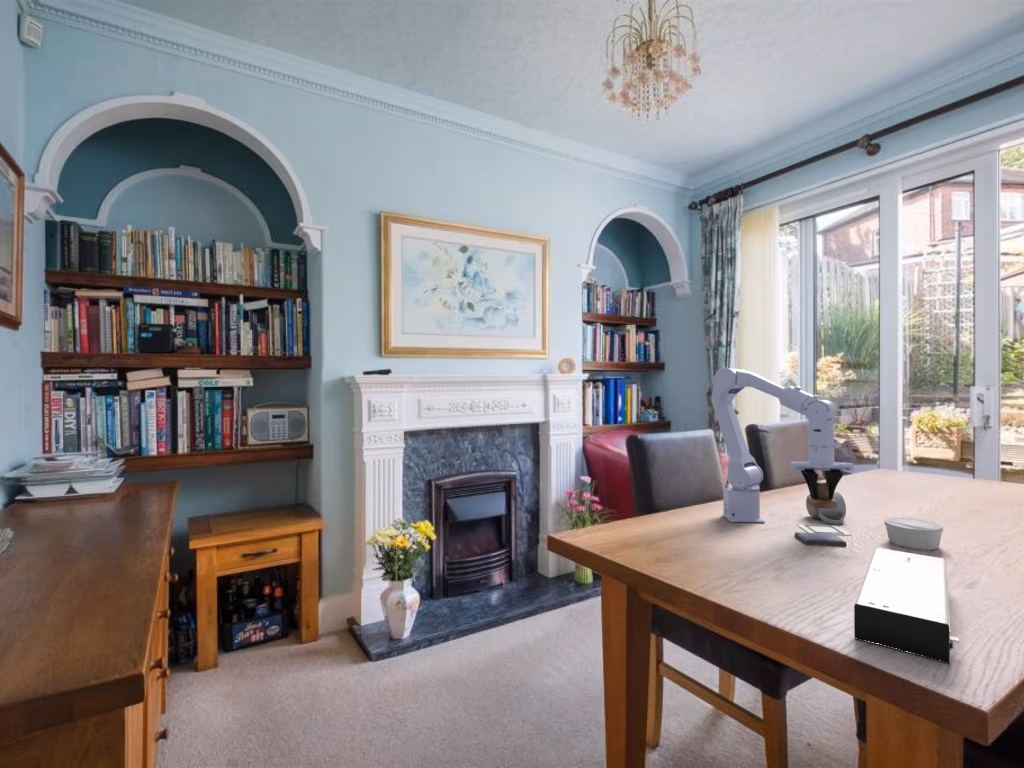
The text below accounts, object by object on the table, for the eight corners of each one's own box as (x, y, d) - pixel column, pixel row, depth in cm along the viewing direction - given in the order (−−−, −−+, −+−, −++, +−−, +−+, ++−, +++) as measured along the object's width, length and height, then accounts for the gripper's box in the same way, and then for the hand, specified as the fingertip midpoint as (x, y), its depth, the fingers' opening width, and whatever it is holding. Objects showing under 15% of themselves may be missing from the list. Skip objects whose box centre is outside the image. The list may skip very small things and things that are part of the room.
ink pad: (806, 544, 125) (806, 540, 125) (794, 536, 132) (794, 531, 132) (846, 546, 123) (846, 541, 123) (832, 537, 130) (832, 532, 130)
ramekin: (889, 548, 122) (888, 526, 122) (881, 535, 132) (880, 515, 132) (949, 555, 117) (949, 532, 117) (936, 541, 126) (936, 520, 126)
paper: (809, 533, 133) (809, 532, 133) (797, 525, 141) (797, 524, 141) (851, 535, 132) (851, 534, 132) (836, 526, 140) (836, 525, 140)
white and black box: (874, 577, 105) (874, 547, 105) (953, 592, 97) (953, 559, 97) (854, 643, 79) (854, 603, 79) (960, 671, 71) (959, 627, 71)
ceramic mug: (804, 514, 152) (804, 489, 152) (833, 515, 151) (833, 489, 151) (821, 525, 142) (821, 497, 141) (853, 526, 141) (853, 498, 140)
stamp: (815, 508, 131) (815, 484, 131) (807, 503, 136) (807, 481, 136) (836, 508, 130) (836, 485, 130) (828, 504, 135) (828, 481, 135)
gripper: (796, 447, 130) (797, 500, 130) (859, 448, 128) (859, 502, 128) (786, 444, 137) (787, 494, 137) (846, 444, 135) (846, 496, 135)
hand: (821, 498), depth 133 cm, fingers closed on stamp, 3 cm apart
